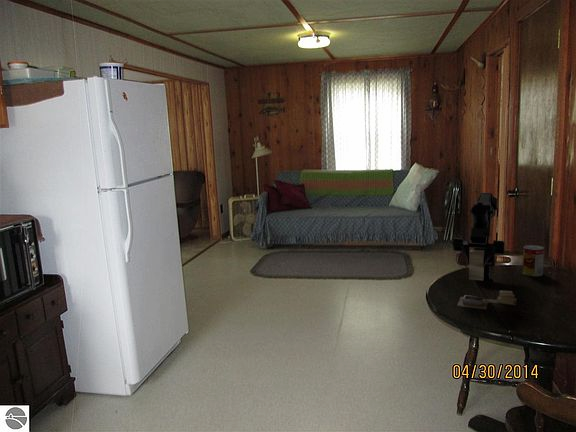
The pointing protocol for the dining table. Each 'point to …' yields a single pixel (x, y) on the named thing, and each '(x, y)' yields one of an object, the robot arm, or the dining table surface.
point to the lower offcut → (505, 301)
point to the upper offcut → (506, 295)
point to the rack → (477, 302)
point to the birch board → (476, 265)
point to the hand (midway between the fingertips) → (476, 264)
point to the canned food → (533, 260)
